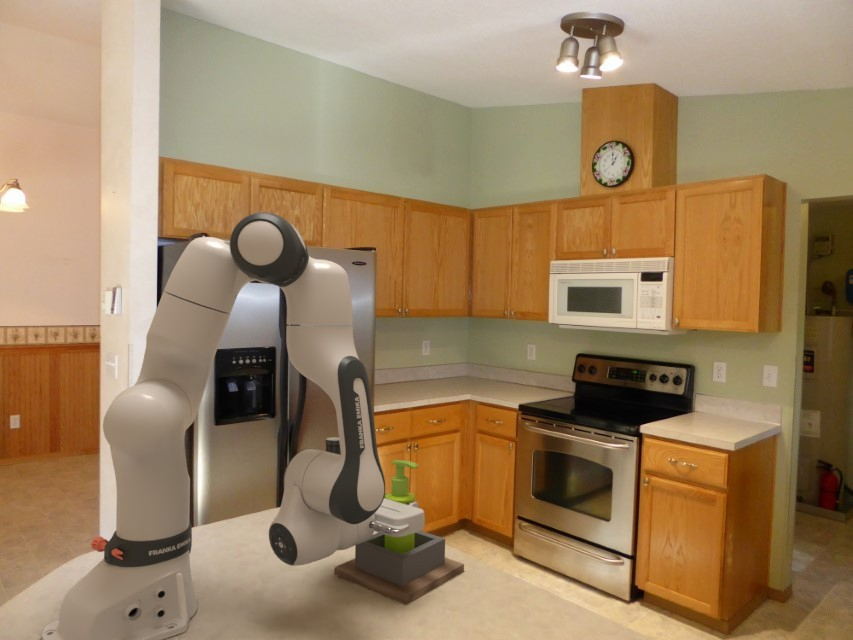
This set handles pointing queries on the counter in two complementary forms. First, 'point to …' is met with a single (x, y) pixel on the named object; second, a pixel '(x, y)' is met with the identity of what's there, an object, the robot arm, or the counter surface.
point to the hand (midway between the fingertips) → (401, 501)
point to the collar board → (400, 567)
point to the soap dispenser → (402, 496)
